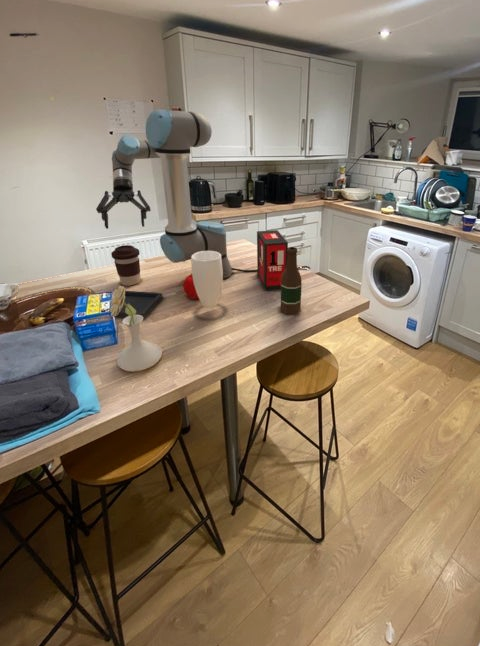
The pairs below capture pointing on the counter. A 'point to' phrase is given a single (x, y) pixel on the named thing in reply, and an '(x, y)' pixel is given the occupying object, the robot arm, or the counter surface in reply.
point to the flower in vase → (134, 338)
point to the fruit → (190, 287)
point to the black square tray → (140, 303)
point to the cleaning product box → (271, 258)
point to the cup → (207, 276)
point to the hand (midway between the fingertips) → (125, 226)
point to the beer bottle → (291, 285)
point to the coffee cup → (127, 264)
